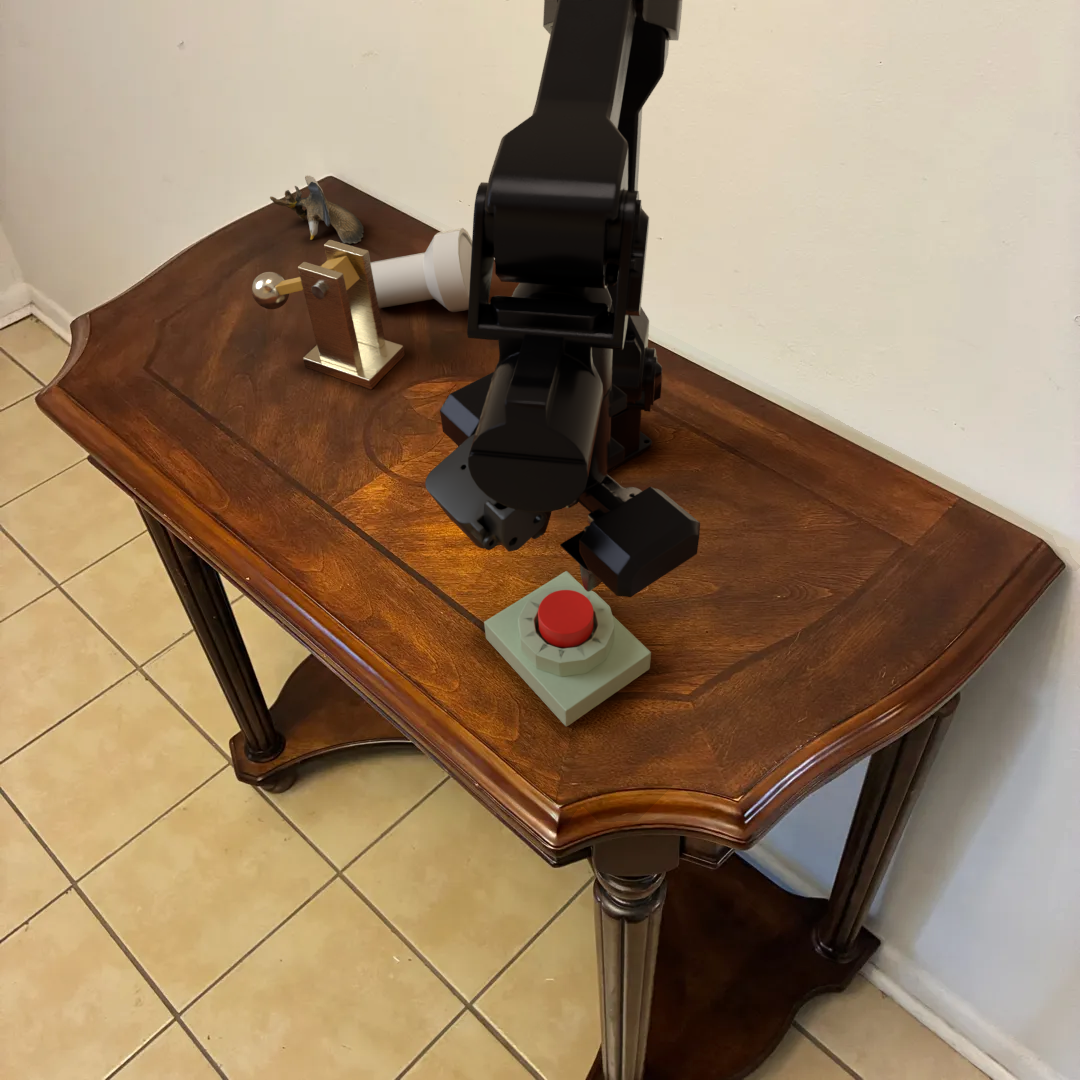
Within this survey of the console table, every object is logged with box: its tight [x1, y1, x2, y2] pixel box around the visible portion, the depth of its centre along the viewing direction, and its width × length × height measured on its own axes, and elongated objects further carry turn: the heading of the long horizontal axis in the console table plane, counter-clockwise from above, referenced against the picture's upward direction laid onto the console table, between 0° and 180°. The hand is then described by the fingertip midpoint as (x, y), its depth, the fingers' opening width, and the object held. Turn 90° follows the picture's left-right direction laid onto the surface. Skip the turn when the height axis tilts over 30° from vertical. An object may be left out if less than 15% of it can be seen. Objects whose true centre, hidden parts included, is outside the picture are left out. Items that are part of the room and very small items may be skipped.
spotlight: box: [370, 227, 472, 313], centre depth 103 cm, size 8×11×8 cm
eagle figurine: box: [269, 174, 365, 245], centre depth 113 cm, size 8×7×9 cm
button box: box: [483, 570, 652, 728], centre depth 74 cm, size 10×8×4 cm
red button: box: [538, 590, 594, 648], centre depth 72 cm, size 4×4×2 cm
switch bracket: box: [297, 239, 405, 390], centre depth 95 cm, size 8×6×12 cm
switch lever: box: [251, 256, 360, 310], centre depth 95 cm, size 13×4×4 cm, turn 62°
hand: (564, 560), depth 67 cm, fingers open, 5 cm apart
